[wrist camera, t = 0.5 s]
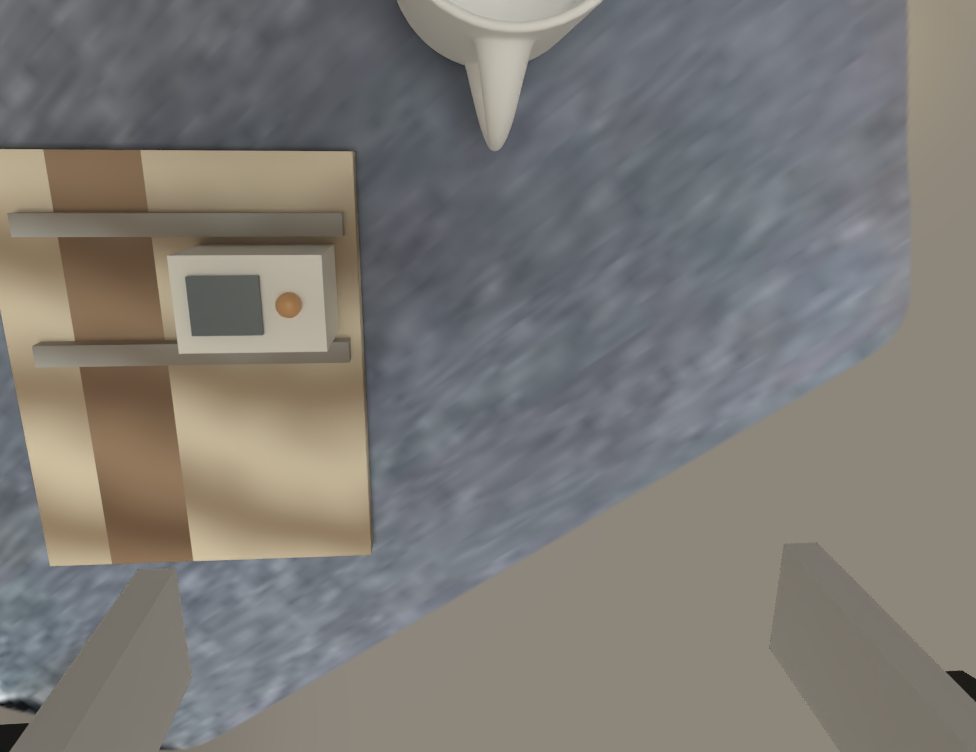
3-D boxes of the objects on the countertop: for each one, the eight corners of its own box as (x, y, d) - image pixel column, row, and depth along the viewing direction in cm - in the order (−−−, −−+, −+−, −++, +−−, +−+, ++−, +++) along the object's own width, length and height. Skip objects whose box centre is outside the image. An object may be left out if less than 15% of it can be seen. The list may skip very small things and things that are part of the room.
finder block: (198, 244, 32) (163, 256, 28) (334, 243, 32) (320, 255, 28) (207, 331, 33) (176, 355, 29) (339, 329, 34) (326, 353, 29)
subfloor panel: (-15, 149, 31) (-44, 148, 29) (355, 151, 33) (350, 151, 31) (62, 553, 37) (41, 574, 35) (373, 542, 38) (369, 563, 36)
